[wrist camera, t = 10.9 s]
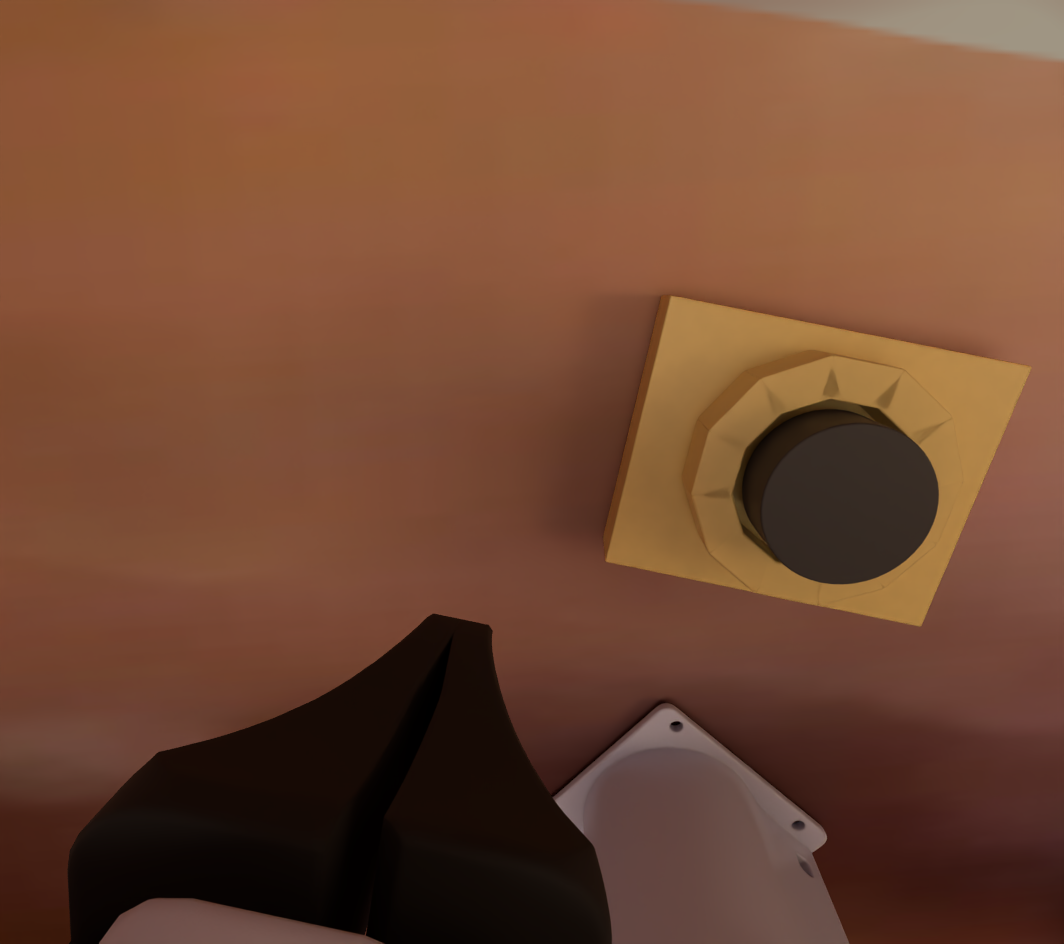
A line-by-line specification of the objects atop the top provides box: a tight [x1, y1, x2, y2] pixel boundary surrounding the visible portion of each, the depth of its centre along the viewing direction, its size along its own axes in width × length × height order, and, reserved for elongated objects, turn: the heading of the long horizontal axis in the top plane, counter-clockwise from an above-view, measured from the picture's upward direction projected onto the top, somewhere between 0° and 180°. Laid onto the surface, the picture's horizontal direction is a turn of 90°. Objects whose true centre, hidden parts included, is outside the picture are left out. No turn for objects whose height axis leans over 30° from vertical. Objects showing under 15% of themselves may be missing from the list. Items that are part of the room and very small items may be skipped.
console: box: [603, 295, 1031, 626], centre depth 20 cm, size 11×9×4 cm
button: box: [742, 409, 939, 585], centre depth 17 cm, size 5×5×2 cm
